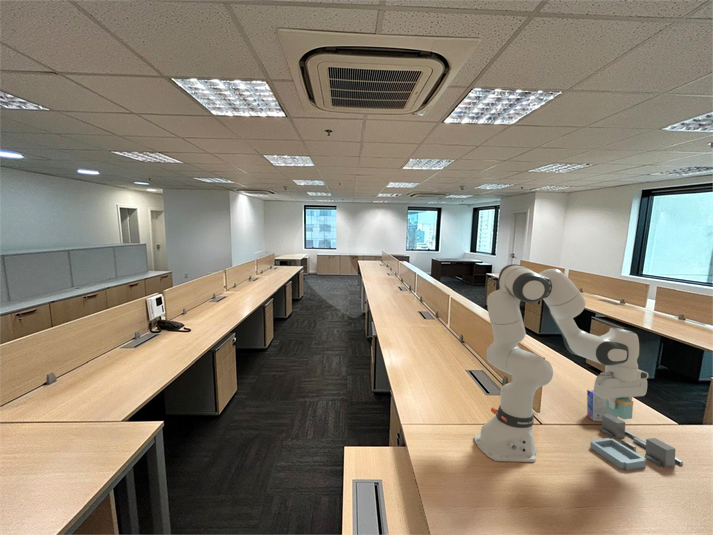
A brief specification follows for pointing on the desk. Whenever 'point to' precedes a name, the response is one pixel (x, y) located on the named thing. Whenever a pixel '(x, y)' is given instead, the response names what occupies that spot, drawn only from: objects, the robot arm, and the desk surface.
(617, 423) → the block
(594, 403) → the ink cartridge box
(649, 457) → the clip rail
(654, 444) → the block
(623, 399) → the block
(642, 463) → the tray
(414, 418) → the desk surface
